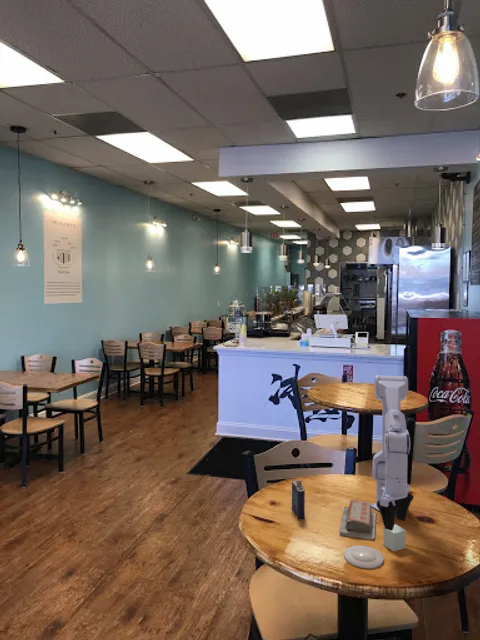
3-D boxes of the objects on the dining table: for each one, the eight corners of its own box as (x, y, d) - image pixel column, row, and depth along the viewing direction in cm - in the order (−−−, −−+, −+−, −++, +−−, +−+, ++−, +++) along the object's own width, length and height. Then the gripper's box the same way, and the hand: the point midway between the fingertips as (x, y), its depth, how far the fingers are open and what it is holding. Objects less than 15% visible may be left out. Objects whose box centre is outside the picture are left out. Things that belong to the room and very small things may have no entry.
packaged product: (344, 496, 158) (376, 500, 155) (344, 511, 158) (375, 515, 155) (339, 520, 140) (375, 525, 138) (338, 536, 141) (374, 542, 138)
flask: (290, 507, 159) (291, 475, 159) (299, 507, 160) (299, 474, 159) (297, 520, 150) (298, 486, 150) (307, 519, 150) (307, 485, 150)
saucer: (364, 545, 135) (365, 541, 135) (391, 562, 126) (391, 558, 126) (336, 553, 130) (336, 549, 130) (361, 572, 121) (361, 567, 121)
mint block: (394, 541, 137) (395, 524, 137) (405, 548, 134) (406, 530, 134) (383, 545, 135) (383, 527, 135) (393, 551, 132) (394, 533, 132)
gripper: (393, 465, 142) (392, 511, 142) (370, 478, 131) (368, 528, 132) (417, 471, 137) (416, 519, 138) (394, 485, 126) (393, 537, 127)
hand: (394, 524), depth 134 cm, fingers open, 7 cm apart
